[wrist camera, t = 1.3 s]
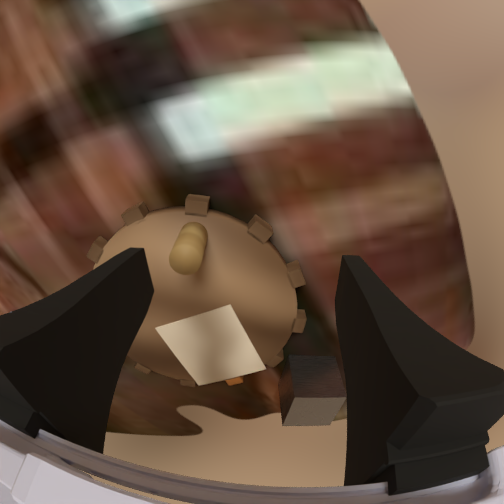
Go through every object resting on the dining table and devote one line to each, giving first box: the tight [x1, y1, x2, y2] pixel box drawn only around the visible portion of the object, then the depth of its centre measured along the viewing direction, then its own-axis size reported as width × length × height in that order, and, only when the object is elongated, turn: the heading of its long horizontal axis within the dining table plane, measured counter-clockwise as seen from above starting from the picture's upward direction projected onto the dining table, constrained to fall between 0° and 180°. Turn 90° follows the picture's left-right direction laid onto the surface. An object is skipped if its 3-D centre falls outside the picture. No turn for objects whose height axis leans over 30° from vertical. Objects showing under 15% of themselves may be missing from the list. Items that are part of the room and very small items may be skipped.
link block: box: [278, 355, 347, 426], centre depth 26 cm, size 4×4×5 cm
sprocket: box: [87, 194, 307, 387], centre depth 22 cm, size 18×18×5 cm
